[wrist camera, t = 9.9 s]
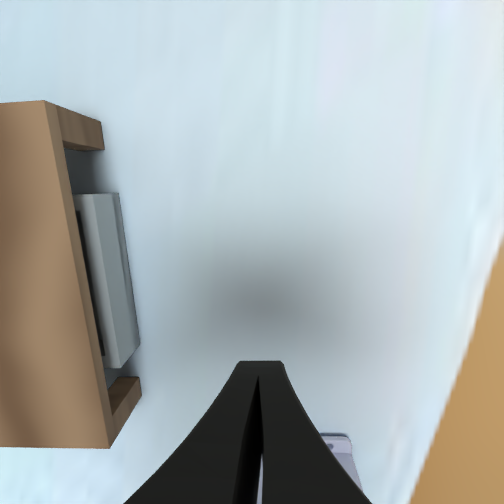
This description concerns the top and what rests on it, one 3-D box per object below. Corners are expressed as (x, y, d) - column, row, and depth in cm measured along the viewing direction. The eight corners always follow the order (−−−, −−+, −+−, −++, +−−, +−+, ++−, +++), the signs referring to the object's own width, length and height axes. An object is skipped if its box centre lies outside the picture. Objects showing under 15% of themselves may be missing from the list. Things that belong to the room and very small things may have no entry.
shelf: (100, 121, 16) (43, 100, 12) (141, 395, 20) (109, 448, 16) (-44, 130, 17) (-144, 113, 13) (24, 395, 21) (-35, 446, 17)
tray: (118, 192, 17) (92, 194, 15) (140, 344, 19) (120, 368, 17) (7, 197, 18) (-36, 199, 15) (41, 345, 20) (8, 368, 17)
